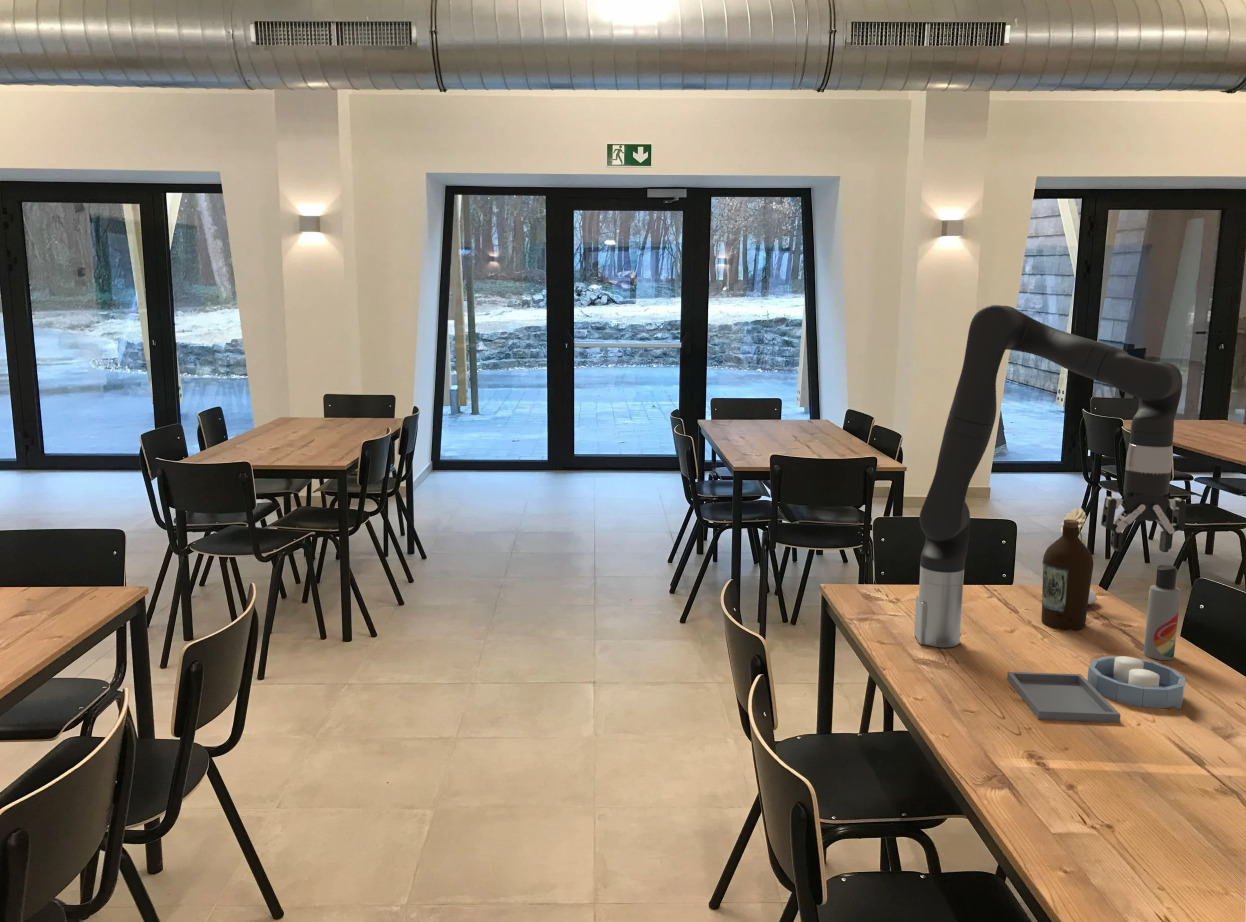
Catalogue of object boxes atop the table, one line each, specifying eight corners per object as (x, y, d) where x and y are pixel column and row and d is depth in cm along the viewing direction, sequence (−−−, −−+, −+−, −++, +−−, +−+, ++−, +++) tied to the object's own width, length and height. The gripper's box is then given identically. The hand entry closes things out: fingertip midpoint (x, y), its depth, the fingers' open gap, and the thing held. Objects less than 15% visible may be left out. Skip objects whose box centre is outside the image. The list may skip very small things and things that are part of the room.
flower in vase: (1044, 593, 240) (1051, 499, 236) (1093, 597, 236) (1101, 502, 232) (1049, 608, 228) (1057, 510, 224) (1100, 613, 224) (1109, 513, 220)
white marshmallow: (1135, 701, 172) (1137, 678, 171) (1122, 690, 177) (1124, 668, 176) (1162, 702, 172) (1165, 679, 171) (1149, 691, 177) (1151, 669, 176)
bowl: (1108, 710, 171) (1110, 687, 170) (1075, 676, 186) (1077, 655, 186) (1199, 713, 169) (1201, 690, 168) (1157, 679, 185) (1160, 657, 184)
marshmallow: (1119, 687, 179) (1121, 665, 178) (1108, 677, 183) (1110, 655, 183) (1146, 688, 178) (1148, 666, 177) (1134, 678, 183) (1136, 656, 182)
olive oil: (1061, 613, 224) (1069, 514, 220) (1098, 627, 214) (1107, 523, 210) (1028, 619, 220) (1035, 518, 216) (1064, 634, 210) (1073, 528, 206)
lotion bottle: (1178, 661, 194) (1187, 570, 190) (1148, 659, 195) (1157, 569, 192) (1168, 651, 199) (1177, 562, 196) (1139, 649, 200) (1148, 561, 197)
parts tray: (1038, 724, 165) (1039, 711, 165) (1006, 683, 183) (1007, 671, 183) (1119, 727, 164) (1120, 714, 164) (1079, 686, 182) (1080, 674, 181)
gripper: (1178, 465, 176) (1169, 546, 179) (1100, 464, 178) (1093, 545, 181) (1198, 472, 169) (1189, 557, 172) (1117, 471, 170) (1109, 555, 173)
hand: (1140, 550), depth 176 cm, fingers open, 8 cm apart
